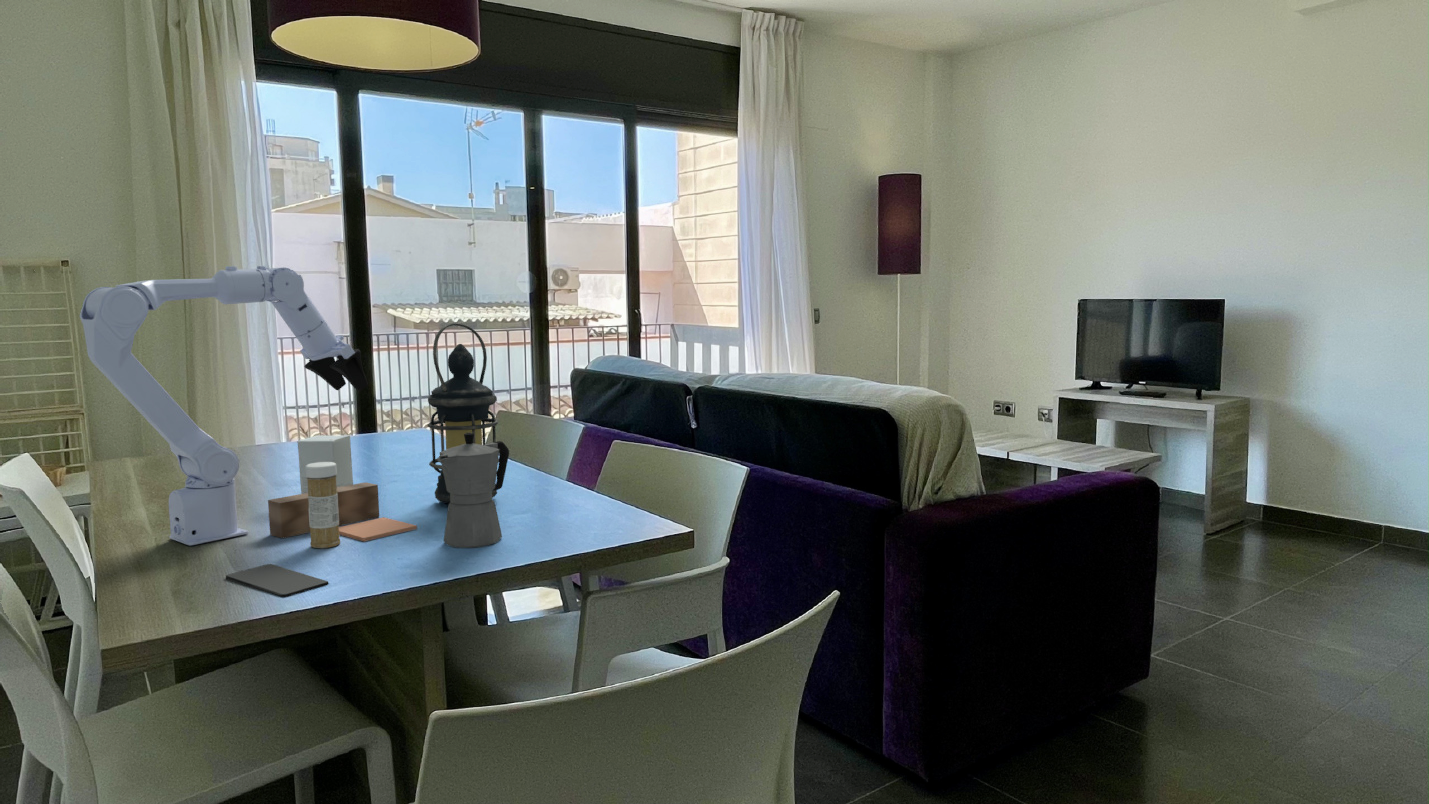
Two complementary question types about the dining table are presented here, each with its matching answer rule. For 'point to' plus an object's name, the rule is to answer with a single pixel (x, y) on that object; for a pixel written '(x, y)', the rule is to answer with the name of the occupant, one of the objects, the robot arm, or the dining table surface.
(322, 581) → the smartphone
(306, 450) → the supplement box
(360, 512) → the long brown wooden block
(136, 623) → the dining table surface
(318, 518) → the sprinkles bottle
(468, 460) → the coffeepot
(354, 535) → the pad
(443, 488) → the lantern
